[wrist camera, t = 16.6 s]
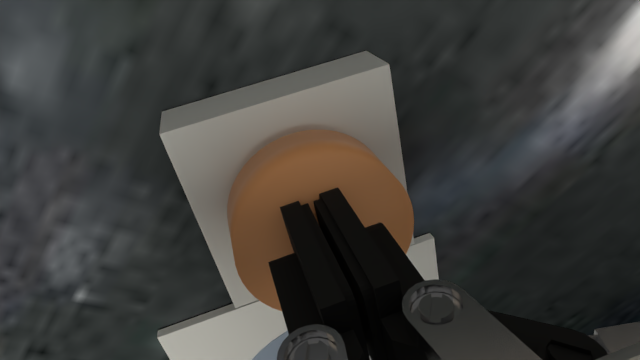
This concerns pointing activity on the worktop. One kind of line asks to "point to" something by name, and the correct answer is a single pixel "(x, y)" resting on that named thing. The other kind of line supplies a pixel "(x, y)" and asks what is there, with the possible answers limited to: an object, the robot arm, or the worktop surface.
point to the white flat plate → (256, 323)
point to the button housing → (275, 136)
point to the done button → (307, 198)
